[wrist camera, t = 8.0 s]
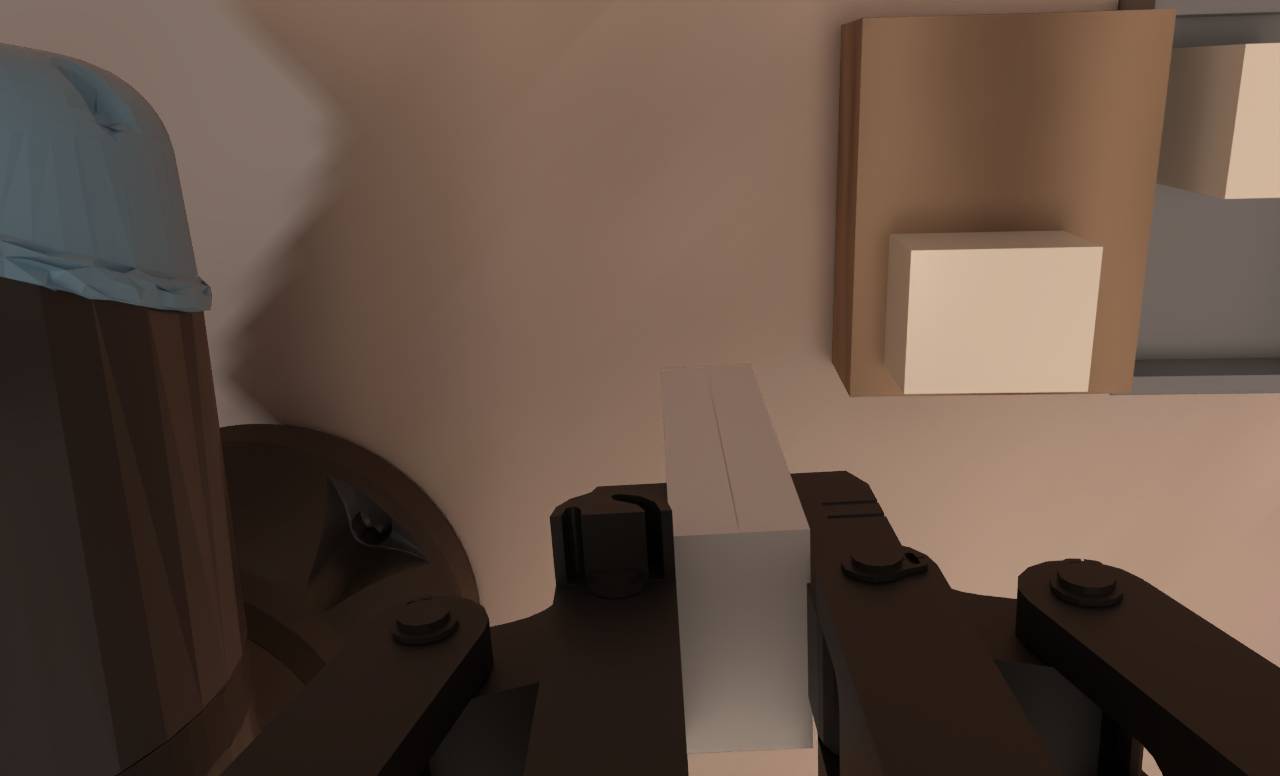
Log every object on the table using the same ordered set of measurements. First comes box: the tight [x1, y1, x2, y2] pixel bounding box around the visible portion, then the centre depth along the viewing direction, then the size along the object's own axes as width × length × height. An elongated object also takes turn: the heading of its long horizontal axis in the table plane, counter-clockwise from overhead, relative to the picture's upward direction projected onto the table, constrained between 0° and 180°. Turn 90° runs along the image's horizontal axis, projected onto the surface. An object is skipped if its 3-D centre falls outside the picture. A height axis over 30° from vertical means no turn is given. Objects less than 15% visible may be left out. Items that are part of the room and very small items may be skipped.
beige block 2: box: [1156, 43, 1280, 199], centre depth 29 cm, size 5×4×3 cm
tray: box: [1109, 0, 1280, 395], centre depth 32 cm, size 7×12×3 cm, turn 2°
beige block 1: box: [884, 230, 1103, 394], centre depth 29 cm, size 5×4×3 cm
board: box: [832, 9, 1177, 397], centre depth 32 cm, size 8×11×4 cm
